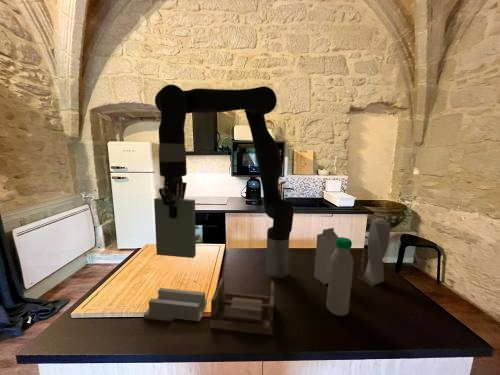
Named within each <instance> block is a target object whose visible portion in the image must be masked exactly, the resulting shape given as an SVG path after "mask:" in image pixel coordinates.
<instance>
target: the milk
mask: <svg viewBox="0 0 500 375" xmlns="http://www.w3.org/2000/svg"><path fill="white" fill-rule="evenodd" d="M334 228H335V227H331V228H326V229H325V228H324V229H322V233H319V234H318V233H317V235H316V246H315V256H314V257H315V259H314V272H313V277H314V278H315V279H316V280H317V281H319V282H320V283H322V284H323V285H326V284H329V270H330V264H331V262H330V258H331V256H332V254H333V253H334V251H335V250H336V249H337V247H336V239H337V238H339V236H338V234H337V233H336V232H335V229H334Z"/></svg>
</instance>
